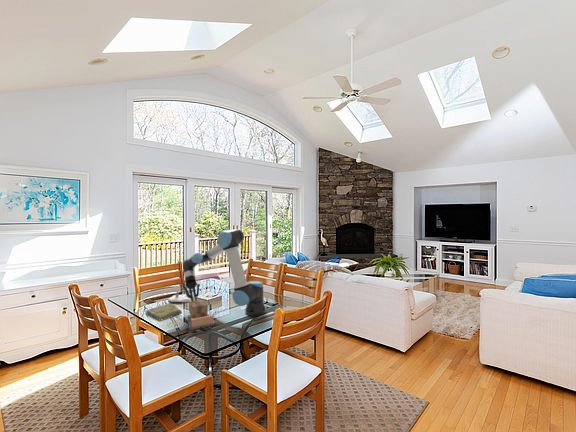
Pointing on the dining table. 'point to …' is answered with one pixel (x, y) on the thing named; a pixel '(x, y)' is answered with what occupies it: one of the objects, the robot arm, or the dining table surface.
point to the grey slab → (200, 321)
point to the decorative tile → (164, 311)
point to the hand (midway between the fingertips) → (195, 305)
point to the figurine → (180, 297)
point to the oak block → (197, 309)
